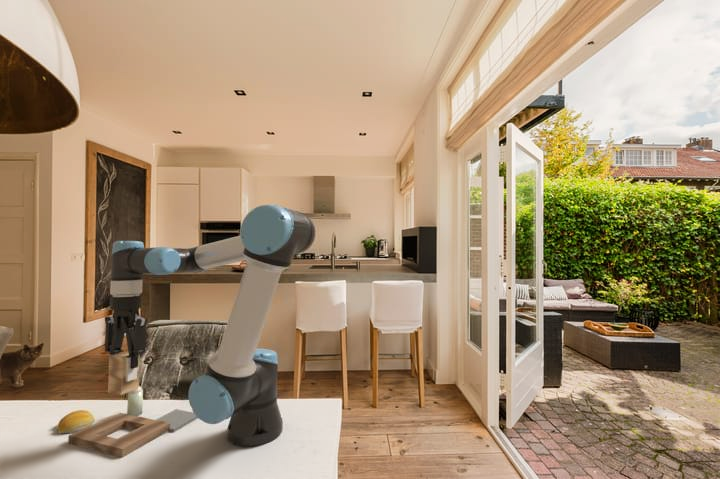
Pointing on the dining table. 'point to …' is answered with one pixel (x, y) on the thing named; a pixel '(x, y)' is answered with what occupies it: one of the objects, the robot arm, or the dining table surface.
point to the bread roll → (75, 421)
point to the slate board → (178, 419)
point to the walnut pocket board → (99, 439)
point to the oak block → (120, 375)
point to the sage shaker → (135, 402)
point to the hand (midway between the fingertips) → (123, 378)
